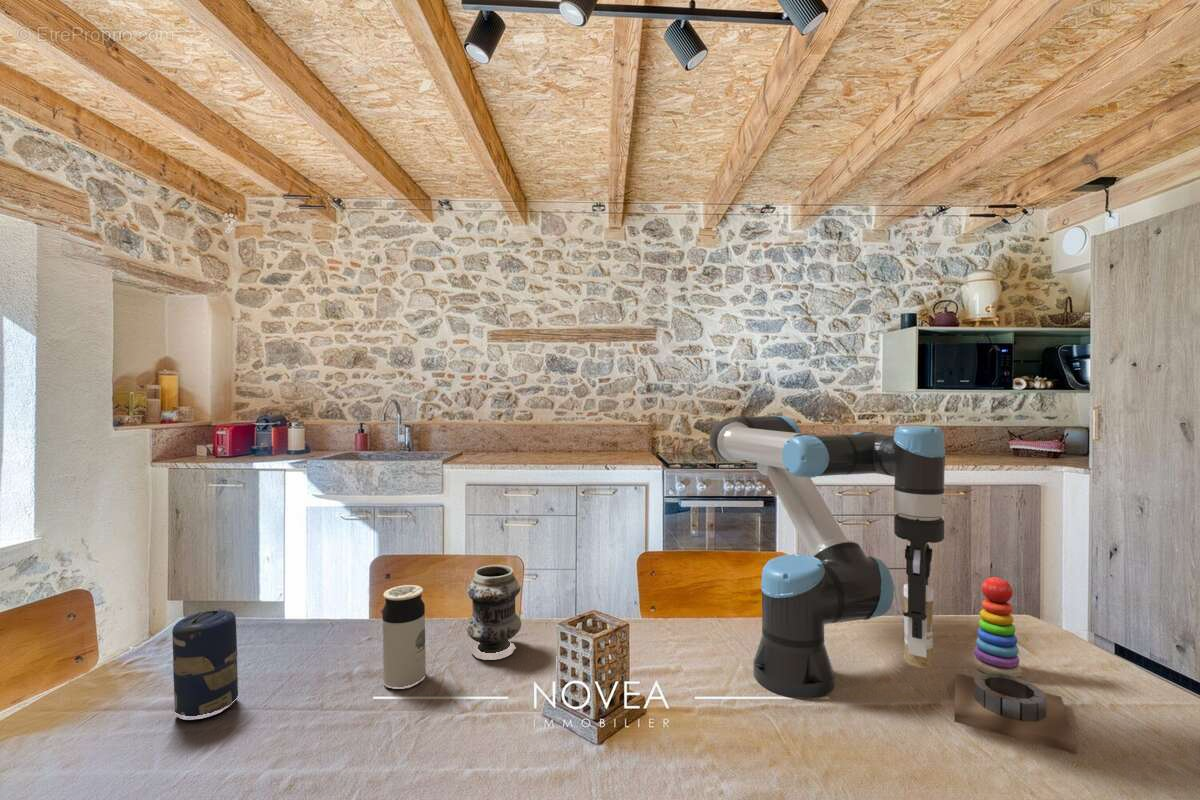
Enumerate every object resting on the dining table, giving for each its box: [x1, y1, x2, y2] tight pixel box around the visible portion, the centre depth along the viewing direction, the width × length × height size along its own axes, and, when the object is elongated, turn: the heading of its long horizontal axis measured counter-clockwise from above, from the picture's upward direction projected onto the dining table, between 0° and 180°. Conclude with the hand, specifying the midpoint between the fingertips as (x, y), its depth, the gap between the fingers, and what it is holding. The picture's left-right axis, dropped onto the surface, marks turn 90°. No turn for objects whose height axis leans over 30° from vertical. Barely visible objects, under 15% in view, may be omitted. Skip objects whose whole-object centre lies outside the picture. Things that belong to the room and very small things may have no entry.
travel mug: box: [381, 584, 427, 687], centre depth 110 cm, size 8×8×18 cm
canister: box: [171, 609, 239, 716], centre depth 100 cm, size 10×10×18 cm
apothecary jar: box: [465, 564, 522, 653], centre depth 122 cm, size 12×12×18 cm
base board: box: [954, 672, 1078, 755], centre depth 97 cm, size 16×16×2 cm
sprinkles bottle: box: [903, 582, 935, 669], centre depth 96 cm, size 5×5×14 cm
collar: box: [973, 672, 1046, 722], centre depth 97 cm, size 10×10×3 cm
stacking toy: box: [972, 576, 1023, 678], centre depth 111 cm, size 8×8×19 cm
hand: (918, 648), depth 96 cm, fingers closed on sprinkles bottle, 4 cm apart
